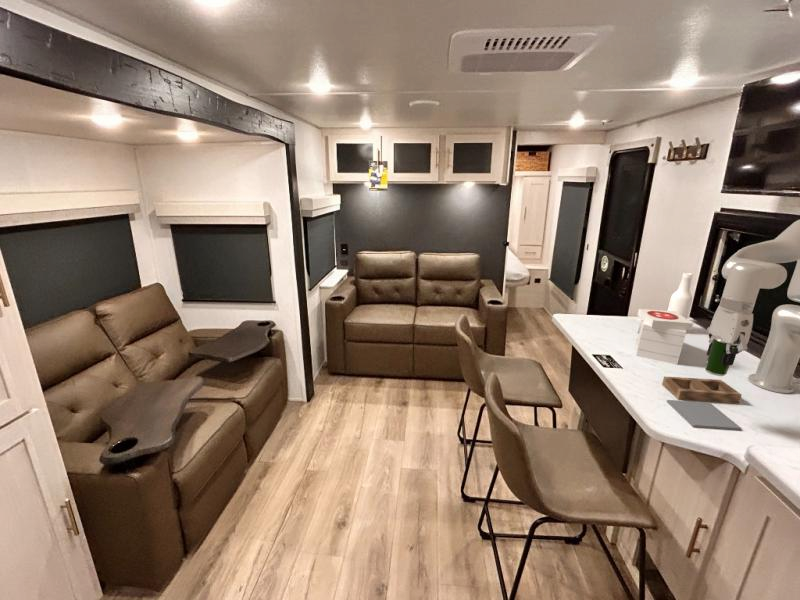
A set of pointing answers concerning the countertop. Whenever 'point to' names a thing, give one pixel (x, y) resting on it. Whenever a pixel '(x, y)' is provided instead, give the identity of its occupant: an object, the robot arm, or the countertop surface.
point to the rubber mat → (703, 415)
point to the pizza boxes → (661, 335)
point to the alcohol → (682, 297)
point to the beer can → (717, 358)
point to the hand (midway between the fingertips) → (719, 359)
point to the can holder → (701, 389)
